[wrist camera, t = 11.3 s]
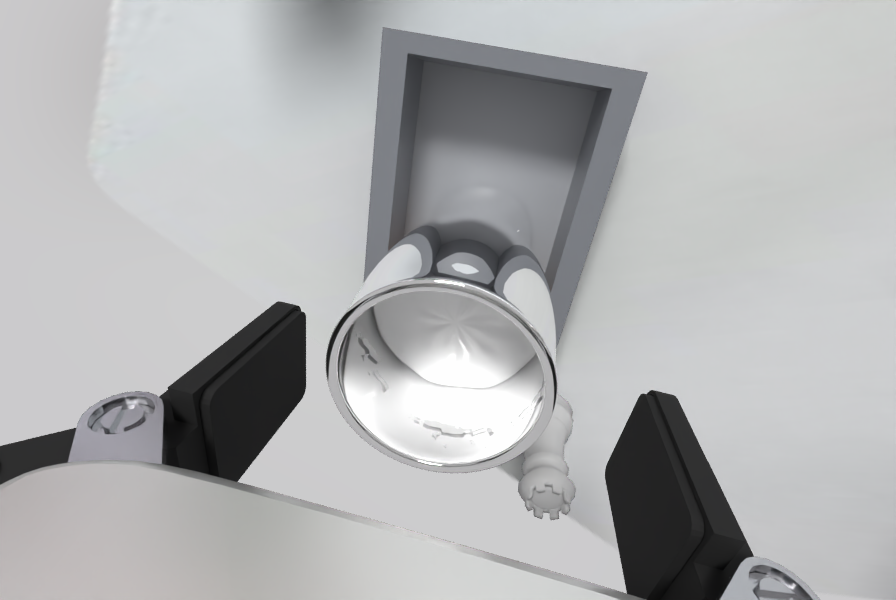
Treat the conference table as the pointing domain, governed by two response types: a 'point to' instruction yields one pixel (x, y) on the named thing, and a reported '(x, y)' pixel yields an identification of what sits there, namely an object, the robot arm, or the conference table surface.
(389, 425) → the beer glass
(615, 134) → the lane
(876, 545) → the conference table surface
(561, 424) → the rook chess piece
